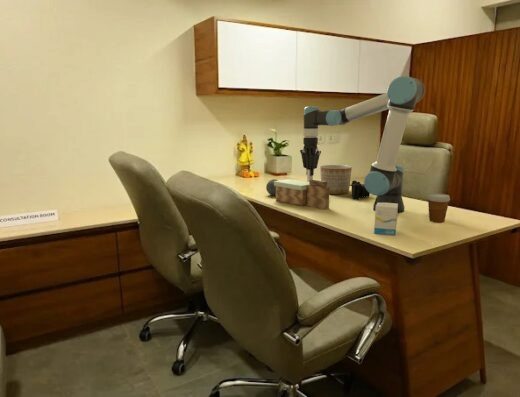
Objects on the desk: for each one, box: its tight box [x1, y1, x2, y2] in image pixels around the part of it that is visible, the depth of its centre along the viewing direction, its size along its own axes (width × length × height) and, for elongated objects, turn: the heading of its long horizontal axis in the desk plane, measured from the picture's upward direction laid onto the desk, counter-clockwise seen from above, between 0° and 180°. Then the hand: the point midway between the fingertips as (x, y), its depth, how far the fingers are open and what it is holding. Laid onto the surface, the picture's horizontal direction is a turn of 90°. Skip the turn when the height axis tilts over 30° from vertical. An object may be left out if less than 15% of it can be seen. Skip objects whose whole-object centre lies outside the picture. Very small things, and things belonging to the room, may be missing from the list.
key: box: [309, 179, 327, 187], centre depth 207 cm, size 10×2×2 cm, turn 42°
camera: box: [350, 180, 371, 201], centre depth 232 cm, size 14×11×10 cm
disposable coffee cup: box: [426, 193, 451, 224], centre depth 179 cm, size 10×10×12 cm
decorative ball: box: [265, 179, 280, 197], centre depth 241 cm, size 10×10×10 cm
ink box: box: [373, 202, 398, 236], centre depth 163 cm, size 9×8×12 cm
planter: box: [319, 164, 353, 196], centre depth 248 cm, size 19×19×16 cm
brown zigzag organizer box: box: [275, 185, 330, 210], centre depth 216 cm, size 34×9×12 cm, turn 42°
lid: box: [274, 178, 309, 190], centre depth 220 cm, size 21×11×2 cm, turn 42°
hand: (309, 181), depth 211 cm, fingers closed
